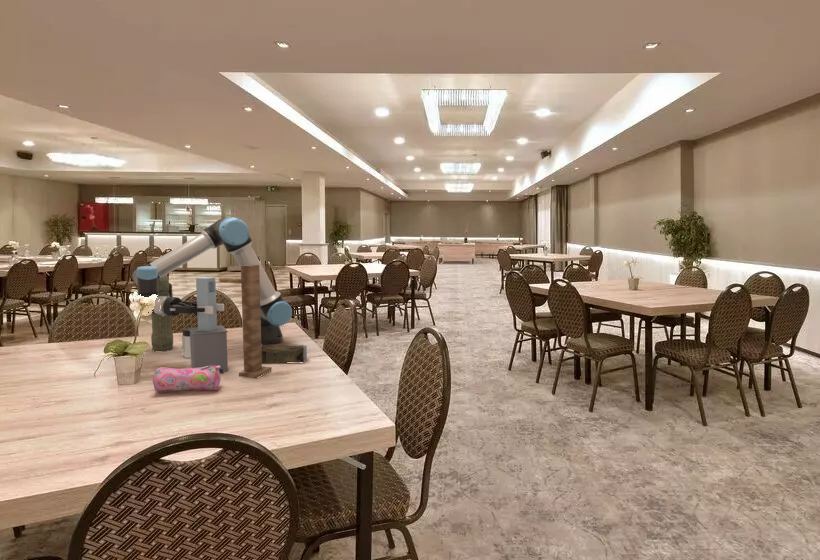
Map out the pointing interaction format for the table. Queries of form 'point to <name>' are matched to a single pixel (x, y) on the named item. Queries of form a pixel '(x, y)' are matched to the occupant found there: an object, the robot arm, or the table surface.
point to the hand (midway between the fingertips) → (218, 308)
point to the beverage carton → (283, 353)
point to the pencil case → (187, 378)
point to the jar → (186, 342)
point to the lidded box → (209, 348)
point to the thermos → (162, 321)
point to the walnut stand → (250, 320)
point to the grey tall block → (206, 302)
